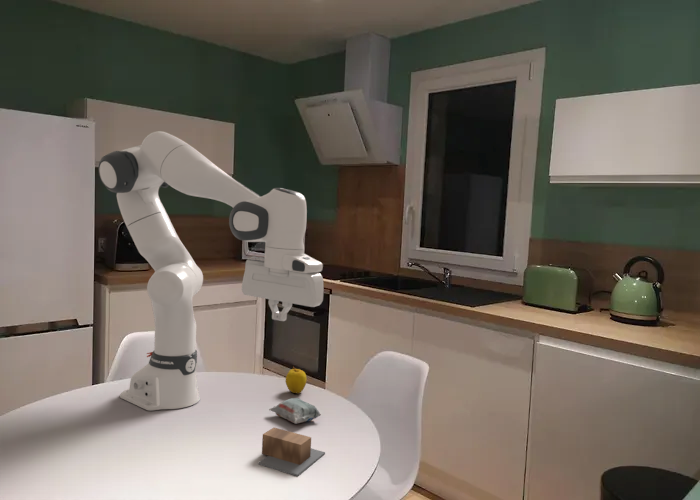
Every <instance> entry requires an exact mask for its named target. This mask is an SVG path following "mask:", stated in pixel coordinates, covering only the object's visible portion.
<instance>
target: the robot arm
mask: <svg viewBox="0 0 700 500" xmlns="http://www.w3.org/2000/svg"><path fill="white" fill-rule="evenodd" d="M97 169H98V176H99V178H100V181H101V183H102V185H103V186H105V188H106V190H108V191H110V192H111V193H115V194H116V200H117V205H118V208H119V211H120V214H121V217H122V219H123V221H124V224H125V226H126V228H127V230H128V232H129V235H130V237H131V239H132V241H133V242H134V245H135V247H136V249H137V252H138V253H139V254H140V255H141V256H142V257H143V258H144V259H145V260H146V261H147V262H148V264H149V265H150V266H151V268H152V269H153V270H154V273H153V274H152V275H151V277H149V280H148V282H147V284H146V291H147V292H146V293H147V295H148V297H149V299H150V301H151V307H152V314H153V319H154V322H153V323H154V342H153V343H154V347H153V349H154V350H153V351H150V352H147V353H146V358H149V361H148V363H147V364H146V365H144V366H143V367H142V368H140V369H138V371H136V372H134V373H133V374H132V376H131V377H130V380H129V381H130V382H129V387H128V388H127V389H125V390H123V391H122V392H121V393H120V396H119V398H121V399H122V400H125V401H126V402H128V403H131V404H133V405H135V406H138V407H139V408H141V409H144V410H146V411H148V412H149V411H159V410H177V409H182V408H186V407H190V406H192V405H195V404H198V402H199V401H201V400H200V399H201V397H200V394H199V393H200V392H199V388H198V381H197V369H196V367H197V363H198V351H197V350H198V349H196V348H197V347H196V346H197V322H196V319H195V314H194V313H195V312H194V306H193V299H194V296H196V295H197V294H198V293H199V292H200V290H201V288H202V286H203V284H204V275H203V274H204V273H203V272H202V269H201V267H199V266H198V265H197V264H196V262H195V260H194V259H193V257H192V255H191V254H190V252H189V251H188V249H187V248H186V247H185V245H184V244H183V242H182V241H181V239H180V237H179V235H178V233H177V232H176V229H175V228H174V225H173V223H172V222H171V219H170V217H169V215H168V213H167V210H166V209H165V207H164V205H163V203H162V201H161V199H160V196H159V190H160V188H163V189H167V188H168V187H169V186H170V187H171V188H173V189H175V191H178V192H180V193H182V194H185V195H187V196H192V197H198V198H204V199H211V200H215V201H218V202H221V203H224V204H226V205H228V206H230V207H232V210H231V211H230V214H229V217H228V219H229V220H228V221H229V222H228V225H229V228H230V231H231V233H232V235H233V236H234V237H235V238H236V239H237V240H240V241H243V242H246V243H265V246H264V248H265V249H264V257H263V256H256V255H253V256H251V257H248V258H247V259H246V261H245V264H244V265H245V266H244V267H245V269H244V273H243V278H242V283H241V292H242V293H243V295H244V296H249V297H254V298H261V299H266V300H268V306H269V308H270V310H271V319H272V320H274V321H280V322H285V321H287V319H288V313H289V311H290V310H291V308H292V307H293V304H294V305H299V306H304V307H310V308H315V307H318V306H320V305H322V303H323V301H324V291H325V290H324V278H323V275H322V274H321V273H320V272H322V271H323V267H324V264H323V263H322V262H321V261H319V260H317V259H315V258H314V257H311V256H310V255H308V254H306V253H305V244H304V237H305V234H306V230H307V213H308V210H307V200H306V197H305V195H303V194H302V193H301V192H298V191H295V190H292V189H288V188H287V189H286V188H283V187H274V188H272V189H271V190H270V191H269V192H268V193H266V194H264V195H262V196H261V195H260V194H258V193H256V192H255V191H253V190H252V189H250V188H249V187H247V186H246V185H244V184H243V183H242V182H240V181H238V180H236V179H235V178H234V177H232V176H230V175H229V174H228V173H227V172H225V171H224V170H223V169H221V168H220V166H217V165H216V164H215V163H214V162H212V161H211V160H210V159H209V158H208V157H206V156H205V155H204V154H202V153H201V152H199V150H197V149H196V148H195V147H193V146H192V145H190V144H189V143H187V142H186V141H184V140H183V139H181V138H179V137H177V136H175V135H174V134H172V133H171V134H170V133H168V132H166V131H163V130H162V131H161V130H158V131H153V132H151V133H149V134H148V135H146V137H145V138H143V140H142V142H141V144H140V145H135V146H132V147H129V148H125V149H121V150H114V151H112V152H111V151H110V152H108V153H106V154H105V155H104V156H102V157H101V158H100V160H99V164H98V168H97ZM279 302H281V303H282V304H281V306H282V309H281V311H280V310H279V307H278V304H279Z"/></svg>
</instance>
